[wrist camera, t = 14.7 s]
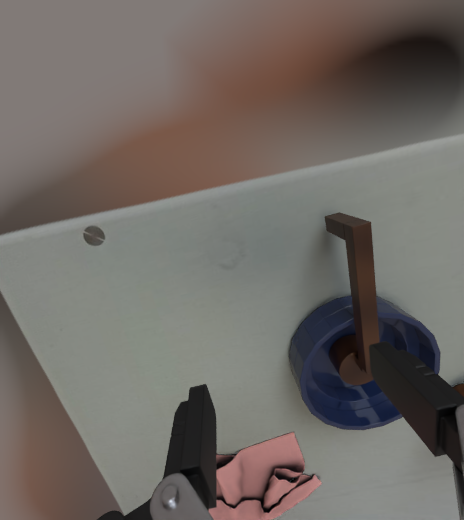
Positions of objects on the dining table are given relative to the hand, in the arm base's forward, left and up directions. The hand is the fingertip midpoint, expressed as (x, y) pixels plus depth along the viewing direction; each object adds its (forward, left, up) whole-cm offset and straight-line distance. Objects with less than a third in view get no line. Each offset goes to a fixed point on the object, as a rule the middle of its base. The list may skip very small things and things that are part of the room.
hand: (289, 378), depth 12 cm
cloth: (+31, -16, -17) cm, 39 cm away
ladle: (+9, +8, -16) cm, 20 cm away
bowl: (+16, +6, -17) cm, 24 cm away
